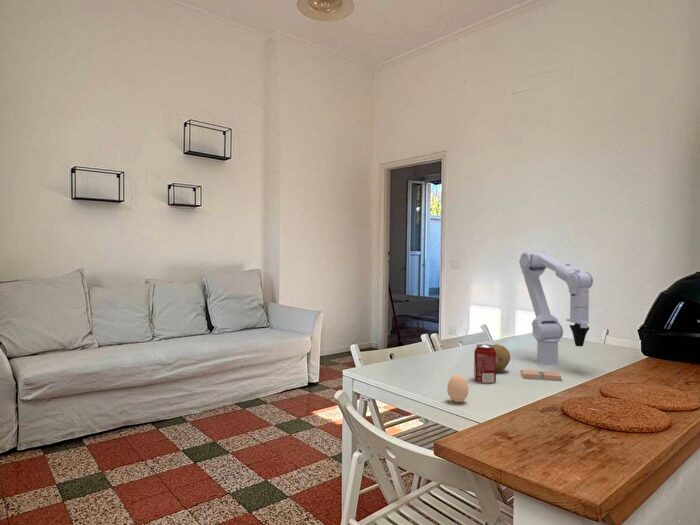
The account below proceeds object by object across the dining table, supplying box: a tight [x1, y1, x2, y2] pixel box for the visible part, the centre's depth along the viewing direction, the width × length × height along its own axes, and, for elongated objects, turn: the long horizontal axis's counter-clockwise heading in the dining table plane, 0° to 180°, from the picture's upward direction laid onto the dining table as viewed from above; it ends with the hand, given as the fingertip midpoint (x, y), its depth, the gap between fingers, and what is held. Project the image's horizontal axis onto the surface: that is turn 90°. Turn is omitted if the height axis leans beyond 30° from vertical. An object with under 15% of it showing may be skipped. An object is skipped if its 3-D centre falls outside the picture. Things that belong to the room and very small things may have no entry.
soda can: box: [473, 343, 497, 385], centre depth 148 cm, size 7×7×12 cm
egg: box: [446, 374, 469, 403], centre depth 127 cm, size 6×6×8 cm
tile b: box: [541, 370, 562, 382], centre depth 152 cm, size 2×5×6 cm
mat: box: [519, 369, 564, 382], centre depth 155 cm, size 12×12×1 cm
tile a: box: [521, 369, 540, 380], centre depth 154 cm, size 2×5×6 cm
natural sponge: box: [492, 344, 511, 373], centre depth 161 cm, size 9×9×10 cm
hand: (579, 346), depth 159 cm, fingers closed
